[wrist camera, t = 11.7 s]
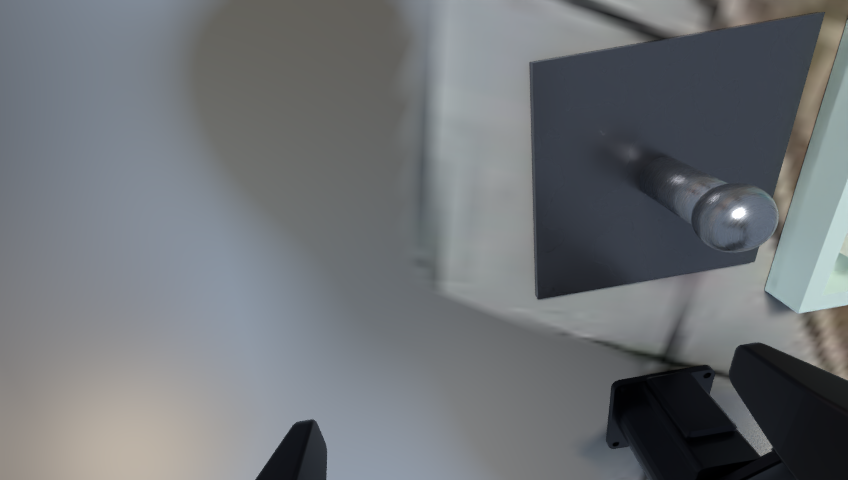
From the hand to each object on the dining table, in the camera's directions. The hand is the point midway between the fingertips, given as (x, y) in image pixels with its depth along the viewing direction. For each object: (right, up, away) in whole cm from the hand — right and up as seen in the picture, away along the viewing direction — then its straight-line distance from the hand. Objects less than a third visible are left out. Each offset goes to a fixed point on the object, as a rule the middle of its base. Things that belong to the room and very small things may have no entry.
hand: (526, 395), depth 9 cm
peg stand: (+9, +6, +11) cm, 16 cm away
